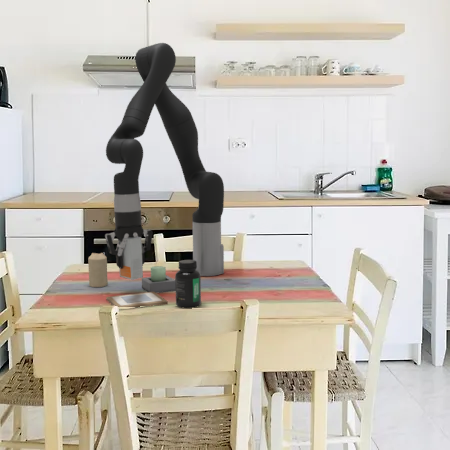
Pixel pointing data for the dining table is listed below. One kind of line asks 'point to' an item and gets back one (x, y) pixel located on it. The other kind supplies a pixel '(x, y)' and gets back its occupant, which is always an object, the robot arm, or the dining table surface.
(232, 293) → the dining table surface
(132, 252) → the skincare box
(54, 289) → the dining table surface
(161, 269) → the button
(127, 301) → the board
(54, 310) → the dining table surface
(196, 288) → the supplement bottle
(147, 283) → the button housing
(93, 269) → the candle
